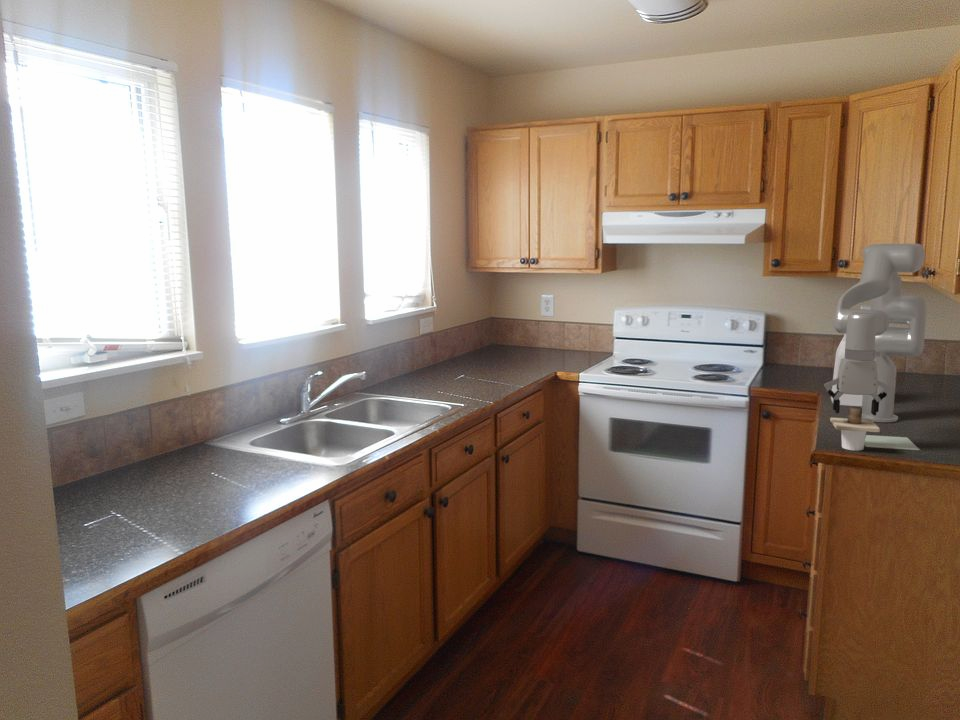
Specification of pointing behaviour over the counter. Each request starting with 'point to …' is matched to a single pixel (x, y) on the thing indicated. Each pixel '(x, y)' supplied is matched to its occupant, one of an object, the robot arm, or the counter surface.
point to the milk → (840, 354)
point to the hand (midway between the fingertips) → (855, 413)
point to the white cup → (853, 439)
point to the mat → (889, 442)
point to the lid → (854, 422)
